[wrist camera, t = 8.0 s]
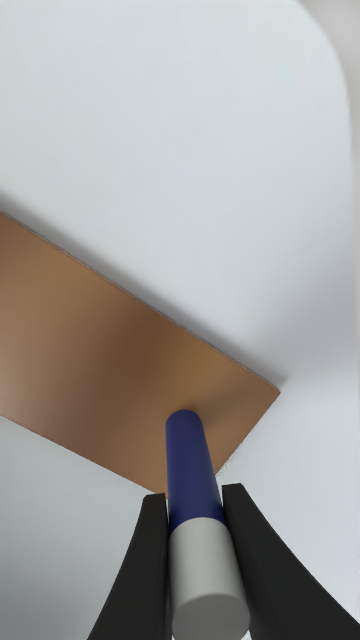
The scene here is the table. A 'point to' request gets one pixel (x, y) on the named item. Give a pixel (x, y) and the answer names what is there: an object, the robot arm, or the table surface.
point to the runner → (109, 365)
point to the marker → (200, 542)
